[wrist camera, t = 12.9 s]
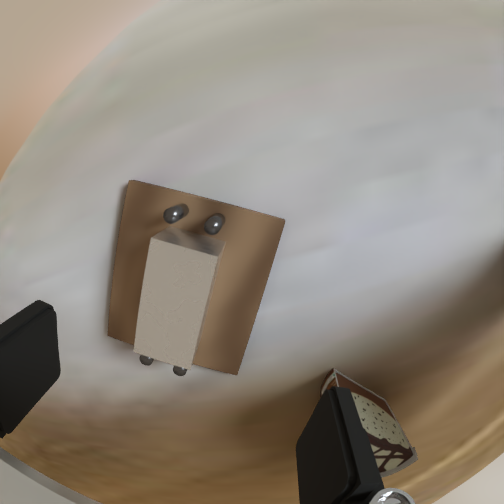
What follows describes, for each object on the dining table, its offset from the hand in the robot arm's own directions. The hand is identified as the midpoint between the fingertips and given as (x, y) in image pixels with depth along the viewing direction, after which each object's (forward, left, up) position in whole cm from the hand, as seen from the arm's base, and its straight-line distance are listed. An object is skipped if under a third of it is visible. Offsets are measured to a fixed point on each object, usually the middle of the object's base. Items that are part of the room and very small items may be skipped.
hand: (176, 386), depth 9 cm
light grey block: (+3, +4, -18) cm, 19 cm away
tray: (+3, +4, -19) cm, 20 cm away
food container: (-17, +14, -20) cm, 30 cm away
